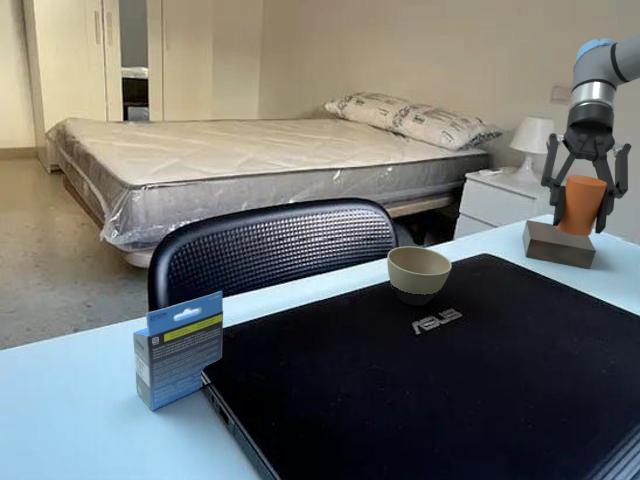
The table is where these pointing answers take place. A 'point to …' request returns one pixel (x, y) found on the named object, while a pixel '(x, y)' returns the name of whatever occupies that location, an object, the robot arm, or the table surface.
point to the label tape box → (177, 349)
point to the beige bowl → (417, 269)
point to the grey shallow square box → (557, 245)
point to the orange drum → (581, 204)
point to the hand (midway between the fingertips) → (578, 226)
